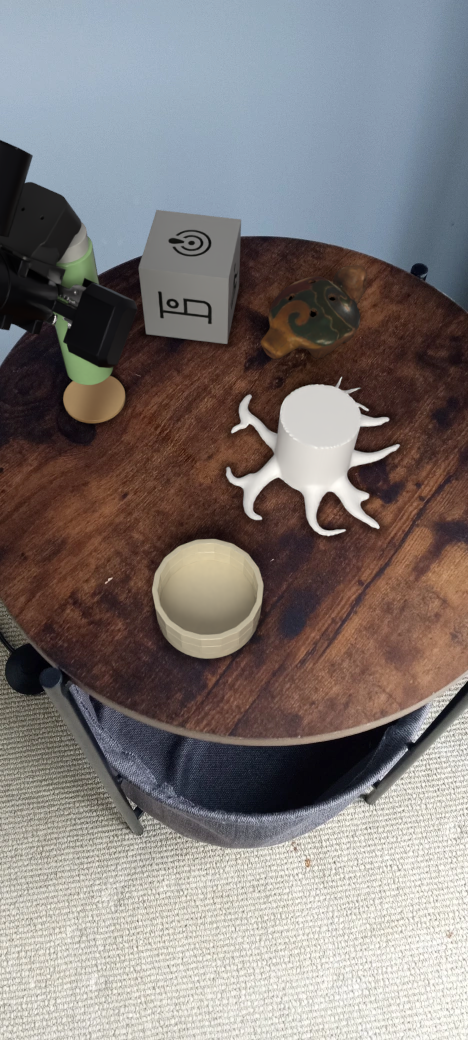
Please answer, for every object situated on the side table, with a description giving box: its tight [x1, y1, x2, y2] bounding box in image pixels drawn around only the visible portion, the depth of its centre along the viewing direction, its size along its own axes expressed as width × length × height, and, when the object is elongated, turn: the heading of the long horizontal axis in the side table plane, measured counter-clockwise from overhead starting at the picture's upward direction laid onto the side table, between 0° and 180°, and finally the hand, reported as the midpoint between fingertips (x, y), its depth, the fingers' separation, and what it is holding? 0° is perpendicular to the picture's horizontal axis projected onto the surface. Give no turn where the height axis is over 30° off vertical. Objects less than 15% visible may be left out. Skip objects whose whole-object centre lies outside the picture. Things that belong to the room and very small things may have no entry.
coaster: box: [62, 375, 127, 424], centre depth 82 cm, size 7×7×1 cm
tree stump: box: [225, 376, 401, 537], centre depth 75 cm, size 20×19×8 cm
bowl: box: [151, 538, 264, 659], centre depth 67 cm, size 10×10×5 cm
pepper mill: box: [53, 221, 114, 385], centre depth 70 cm, size 5×5×17 cm
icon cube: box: [138, 209, 242, 345], centre depth 86 cm, size 10×10×10 cm
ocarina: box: [260, 264, 368, 360], centre depth 85 cm, size 10×15×8 cm, turn 135°
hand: (87, 306), depth 71 cm, fingers closed on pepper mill, 5 cm apart
